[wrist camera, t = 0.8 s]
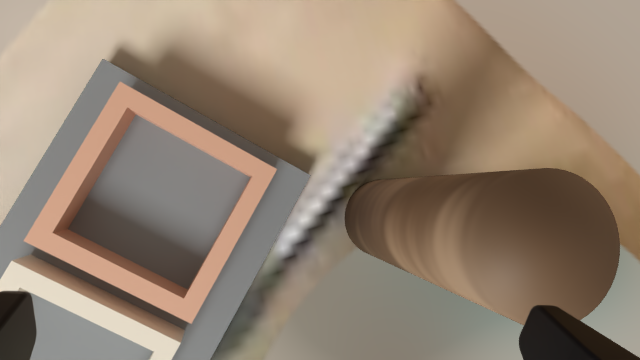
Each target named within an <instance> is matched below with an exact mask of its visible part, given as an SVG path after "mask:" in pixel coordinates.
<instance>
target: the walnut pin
mask: <svg viewBox="0 0 640 360" xmlns="http://www.w3.org/2000/svg"><path fill="white" fill-rule="evenodd" d="M345 226H346V230H347V233H348V235H349V237H350V239H351V240H352V242H353V243H354V244H355V245H356V246H357V247H358V248H359V249H360V250H362V251H363V252H366V253H368V254H370V255H372V256H374V257H376V258H378V259H381V260H383V261H385V262H387V263H389V264H392V265H394V266H396V267H398V268H400V269H402V270H404V271H407V272H409V273H411V274H413V275H415V276H418V277H420V278H422V279H424V280H426V281H429V282H431V283H433V284H435V285H438V286H439V287H442V288H444V289H446V290H448V291H450V292H453V293H455V294H457V295H459V296H461V297H463V298H466V299H468V300H470V301H473V302H474V303H476V304H479V305H481V306H483V307H485V308H487V309H490V310H492V311H494V312H496V313H498V314H500V315H503V316H505V317H507V318H509V319H511V320H513V321H516V322H518V323H520V324H522V325H524V324H525V322H526V320H527V317H528V315H529V312H530V310H531V309H532V308H533V307H534V306H536V305H553V306H557V307H559V308H560V309H562V310H564V311H565V312H567V313H568V314H570V315H572V316H573V317H575V318H576V319H578V320H581V319H582V318H584V317H585V316H587V315H588V314H589V313H591V312H592V311H593V310H594V309H595V308H596V307H597V306H598V305H599V304H600V303H601V301H602V300H603V298H604V297H605V296H606V294H607V292H608V291H609V289H610V287H611V285H612V283H613V280H614V278H615V275H616V271H617V267H618V263H619V255H620V242H619V233H618V228H617V224H616V221H615V218H614V215H613V213H612V211H611V209H610V207H609V205H608V203H607V202H606V200H605V199H604V197H603V196H602V195H601V194H600V192H599V191H598V190H597V189H596V188H595V187H594V186H593V185H592V184H590V183H589V182H588V181H586V180H585V179H583V178H582V177H580V176H578V175H576V174H574V173H571V172H568V171H565V170H560V169H553V168H542V169H528V170H513V171H499V172H485V173H470V174H456V175H441V176H427V177H413V178H398V179H384V180H375V181H371V182H368V183H366V184H364V185H362V186H361V187H360V188H358V189H357V190H356V191H355V192H354V194H353V195H352V196H351V198H350V199H349V202H348V204H347V207H346V211H345Z"/></svg>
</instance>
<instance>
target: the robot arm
mask: <svg viewBox="0 0 640 360" xmlns="http://www.w3.org/2000/svg"><path fill="white" fill-rule="evenodd" d="M36 336H37V328H36V321H35V314H34V307H33V300H32V296H31V294H30V293H29V292H27V291H1V292H0V360H30V358H31V355H32V352H33V348H34V345H35V342H36ZM519 347H520V351H521V354H522V356H523V359H524V360H640V358H639V357H637V356H636V355H634V354H632V353H631V352H629V351H628V350H626V349H625V348H623V347H621V346H620V345H618V344H616V343H615V342H613V341H612V340H610V339H608V338H607V337H605V336H604V335H602V334H600V333H599V332H597V331H596V330H594V329H592V328H591V327H589V326H587V325H586V324H584V323H583V322H581V321H580V320H578V319H576V318H575V317H573V316H572V315H570V314H568V313H567V312H565V311H564V310H562V309H560V308H559V307H557V306H553V305H536V306H534V307H533V308H532V309H531V310H530V312H529V315H528V317H527V320H526V322H525V324H524V327H523V329H522V332H521V334H520V337H519Z"/></svg>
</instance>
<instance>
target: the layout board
mask: <svg viewBox="0 0 640 360" xmlns="http://www.w3.org/2000/svg"><path fill="white" fill-rule="evenodd" d="M310 176H311V175H309V174H307V173H305V172H304V171H302V170H300V169H298V168H296V167H295V166H293V165H291V164H289V163H288V162H286V161H284V160H282V159H280V158H279V157H277V156H275V155H273V154H272V153H270V152H268V151H266V150H264V149H263V148H261V147H259V146H257V145H256V144H254V143H252V142H250V141H249V140H247V139H245V138H243V137H241V136H240V135H238V134H236V133H234V132H233V131H231V130H229V129H227V128H225V127H224V126H222V125H220V124H218V123H217V122H215V121H213V120H211V119H209V118H208V117H206V116H204V115H202V114H201V113H199V112H197V111H195V110H193V109H192V108H190V107H188V106H186V105H185V104H183V103H181V102H179V101H177V100H176V99H174V98H172V97H170V96H169V95H167V94H165V93H163V92H161V91H160V90H158V89H156V88H154V87H153V86H151V85H149V84H147V83H145V82H144V81H142V80H140V79H138V78H137V77H135V76H133V75H131V74H129V73H128V72H126V71H124V70H122V69H121V68H119V67H117V66H115V65H113V64H112V63H110V62H108V61H106V60H105V59H102V61H101V62H100V64H99V66H98V67H97V69H96V71H95V72H94V74H93V75H92V77H91V79H90V80H89V82H88V84H87V85H86V87H85V89H84V90H83V92H82V93H81V95H80V97H79V98H78V100H77V102H76V103H75V105H74V107H73V108H72V110H71V111H70V113H69V115H68V116H67V118H66V120H65V121H64V123H63V125H62V126H61V128H60V129H59V131H58V133H57V134H56V136H55V138H54V139H53V141H52V143H51V144H50V146H49V147H48V149H47V151H46V152H45V154H44V156H43V157H42V159H41V161H40V162H39V164H38V165H37V167H36V169H35V170H34V172H33V174H32V175H31V177H30V179H29V180H28V182H27V183H26V185H25V187H24V188H23V190H22V192H21V193H20V195H19V197H18V198H17V200H16V201H15V203H14V205H13V206H12V208H11V210H10V211H9V213H8V215H7V216H6V218H5V219H4V221H3V223H2V224H1V226H0V292H1V291H27V292H29V293H30V294H31V296H32V300H33V307H34V314H35V321H36V328H37V336H36V342H35V345H34V348H33V352H32V355H31V358H30V360H210V359H211V357H212V355H213V353H214V352H215V350H216V348H217V346H218V344H219V342H220V341H221V339H222V337H223V335H224V333H225V331H226V330H227V328H228V326H229V324H230V322H231V320H232V319H233V317H234V315H235V313H236V311H237V309H238V308H239V306H240V304H241V302H242V300H243V298H244V297H245V295H246V293H247V291H248V289H249V287H250V286H251V284H252V282H253V280H254V278H255V276H256V275H257V273H258V271H259V269H260V267H261V265H262V264H263V262H264V260H265V258H266V256H267V254H268V253H269V251H270V249H271V247H272V245H273V243H274V242H275V240H276V238H277V236H278V234H279V233H280V231H281V229H282V227H283V225H284V223H285V222H286V220H287V218H288V216H289V214H290V212H291V211H292V209H293V207H294V205H295V203H296V201H297V200H298V198H299V196H300V194H301V192H302V190H303V189H304V187H305V185H306V183H307V181H308V179H309V178H310Z"/></svg>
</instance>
